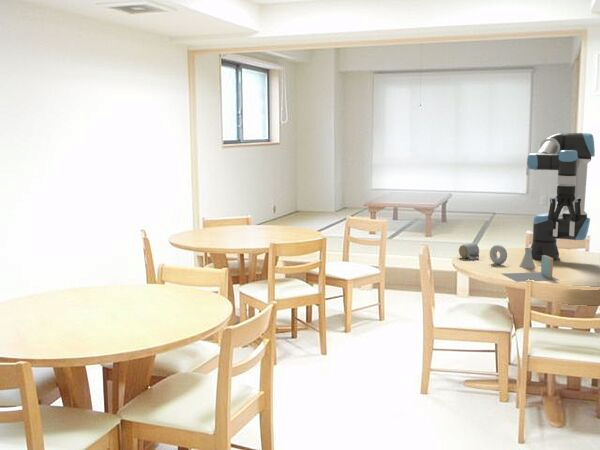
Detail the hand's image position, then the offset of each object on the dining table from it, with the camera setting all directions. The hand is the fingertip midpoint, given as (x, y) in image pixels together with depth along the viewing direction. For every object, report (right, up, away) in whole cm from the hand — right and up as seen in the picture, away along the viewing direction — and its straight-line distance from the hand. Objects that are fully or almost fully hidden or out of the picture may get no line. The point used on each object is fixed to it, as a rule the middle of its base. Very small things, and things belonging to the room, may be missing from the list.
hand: (563, 236), depth 289 cm
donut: (-20, -15, +31) cm, 40 cm away
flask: (-9, -16, +22) cm, 28 cm away
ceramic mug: (-29, -13, +47) cm, 57 cm away
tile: (-7, -18, +2) cm, 20 cm away
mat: (-15, -19, +1) cm, 24 cm away
